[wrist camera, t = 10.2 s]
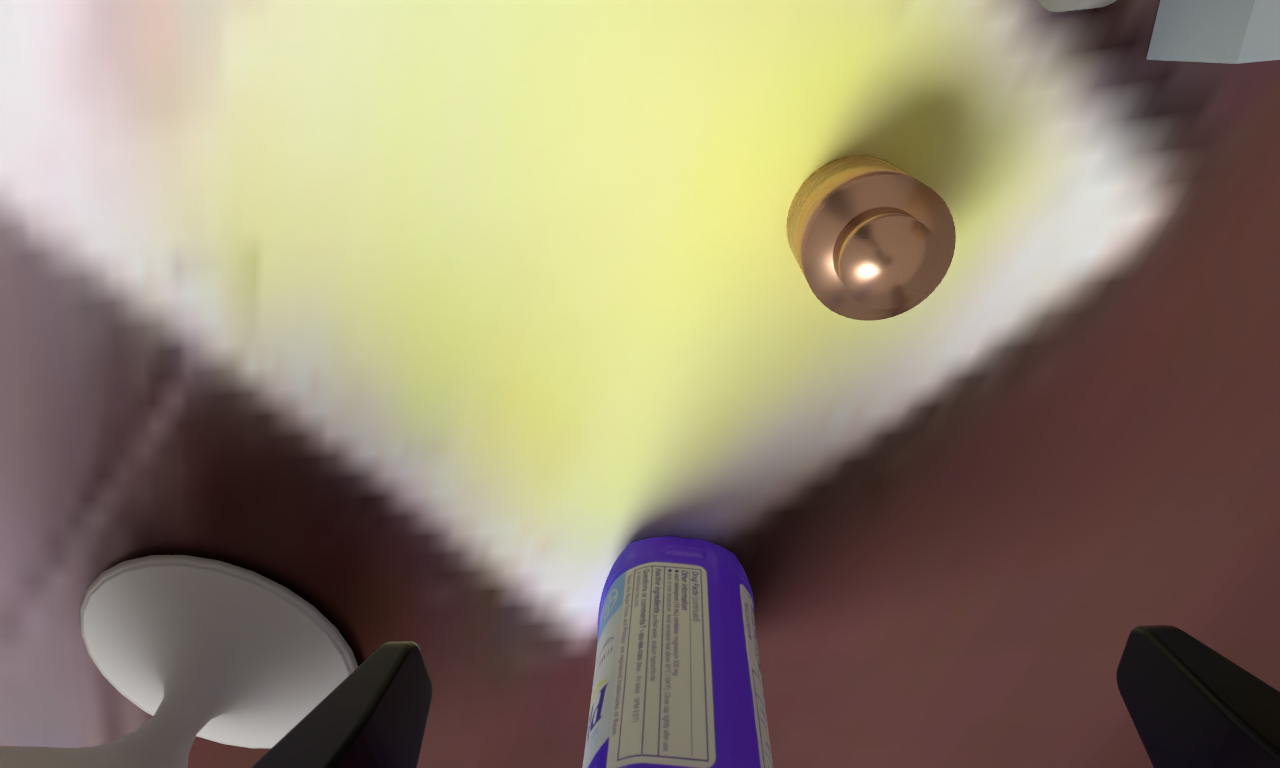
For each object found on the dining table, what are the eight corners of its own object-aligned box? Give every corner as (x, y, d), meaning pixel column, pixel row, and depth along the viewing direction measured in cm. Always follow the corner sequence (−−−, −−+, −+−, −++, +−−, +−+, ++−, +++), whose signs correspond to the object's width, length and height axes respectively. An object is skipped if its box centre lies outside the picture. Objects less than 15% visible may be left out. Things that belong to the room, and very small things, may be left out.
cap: (786, 161, 18) (812, 192, 14) (922, 149, 18) (982, 177, 14) (785, 286, 20) (809, 341, 16) (909, 277, 19) (960, 330, 16)
